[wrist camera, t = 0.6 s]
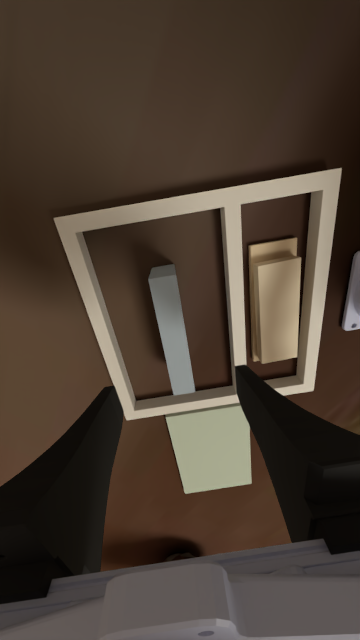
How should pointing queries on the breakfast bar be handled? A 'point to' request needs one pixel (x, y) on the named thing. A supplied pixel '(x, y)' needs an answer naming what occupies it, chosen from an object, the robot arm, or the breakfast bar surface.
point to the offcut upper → (277, 307)
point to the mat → (211, 447)
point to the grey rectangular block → (172, 327)
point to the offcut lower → (260, 255)
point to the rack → (228, 201)
